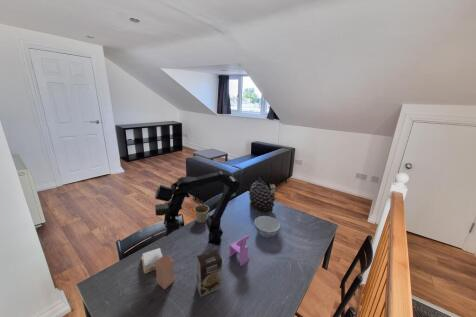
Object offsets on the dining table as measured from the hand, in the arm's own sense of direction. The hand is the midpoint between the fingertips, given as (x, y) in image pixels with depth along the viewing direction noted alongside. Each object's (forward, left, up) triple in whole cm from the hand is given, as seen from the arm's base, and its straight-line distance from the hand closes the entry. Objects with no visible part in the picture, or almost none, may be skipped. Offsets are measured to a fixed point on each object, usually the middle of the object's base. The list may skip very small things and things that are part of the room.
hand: (165, 229), depth 100 cm
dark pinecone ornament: (-45, -53, -14) cm, 71 cm away
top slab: (+3, +8, -12) cm, 15 cm away
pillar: (-8, +16, -14) cm, 23 cm away
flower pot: (-8, -30, -14) cm, 34 cm away
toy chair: (-37, -5, -14) cm, 40 cm away
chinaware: (-50, -27, -14) cm, 59 cm away
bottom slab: (+3, +8, -15) cm, 17 cm away
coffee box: (-27, +14, -14) cm, 34 cm away
